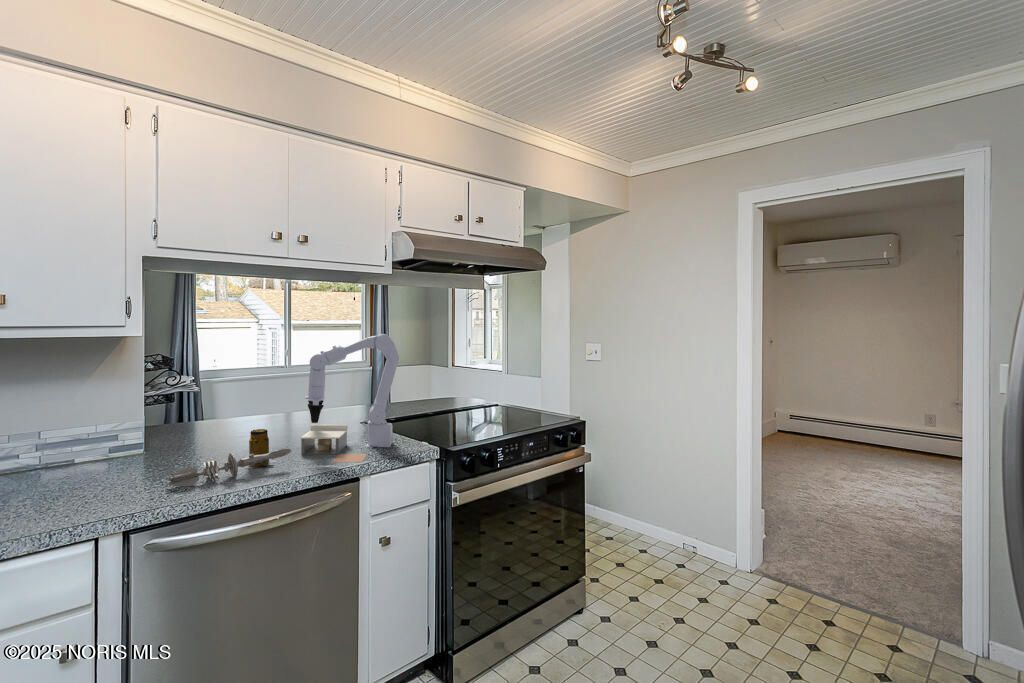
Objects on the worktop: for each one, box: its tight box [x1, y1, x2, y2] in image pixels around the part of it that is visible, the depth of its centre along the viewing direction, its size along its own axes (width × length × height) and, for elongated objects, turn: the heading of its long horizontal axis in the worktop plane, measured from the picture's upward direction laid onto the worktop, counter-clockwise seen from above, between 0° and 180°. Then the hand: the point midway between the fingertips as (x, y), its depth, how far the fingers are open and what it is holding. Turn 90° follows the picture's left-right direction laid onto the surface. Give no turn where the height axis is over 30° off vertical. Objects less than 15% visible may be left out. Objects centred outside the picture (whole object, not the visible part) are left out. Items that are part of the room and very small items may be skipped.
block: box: [317, 439, 333, 451], centre depth 194 cm, size 4×4×5 cm
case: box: [300, 431, 348, 455], centre depth 194 cm, size 13×13×6 cm
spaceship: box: [166, 448, 292, 487], centre depth 162 cm, size 8×35×8 cm
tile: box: [332, 453, 368, 463], centre depth 183 cm, size 10×10×1 cm
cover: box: [300, 424, 348, 440], centre depth 194 cm, size 14×13×2 cm
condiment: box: [245, 428, 275, 469], centre depth 175 cm, size 7×8×12 cm
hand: (314, 420), depth 197 cm, fingers open, 7 cm apart
